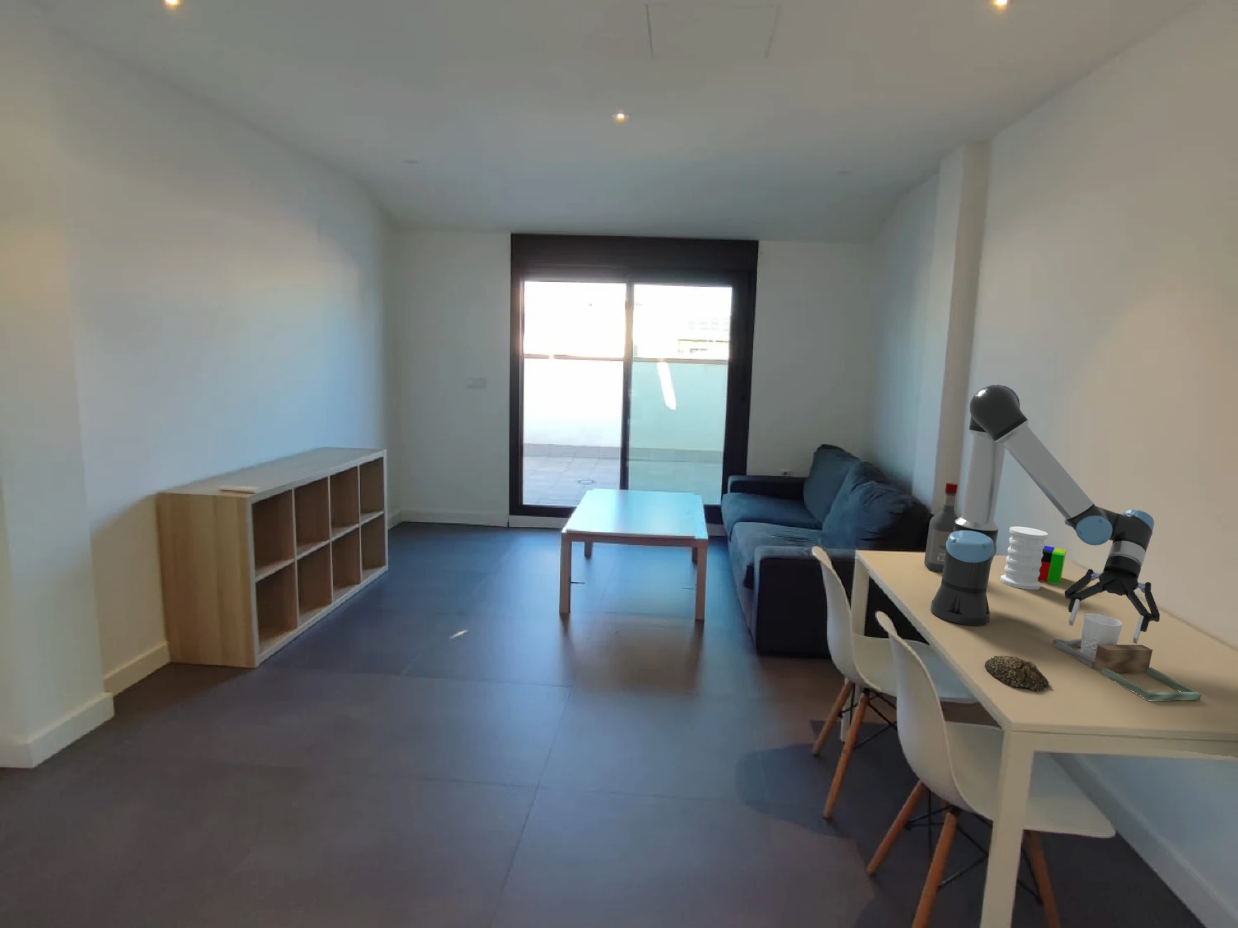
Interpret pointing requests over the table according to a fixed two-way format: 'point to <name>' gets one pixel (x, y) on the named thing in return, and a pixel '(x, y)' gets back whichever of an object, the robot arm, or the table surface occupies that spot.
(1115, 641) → the white cup
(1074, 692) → the table surface
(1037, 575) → the decorative container
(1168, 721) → the table surface
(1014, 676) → the bread roll
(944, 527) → the liquor
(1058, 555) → the puzzle toy
